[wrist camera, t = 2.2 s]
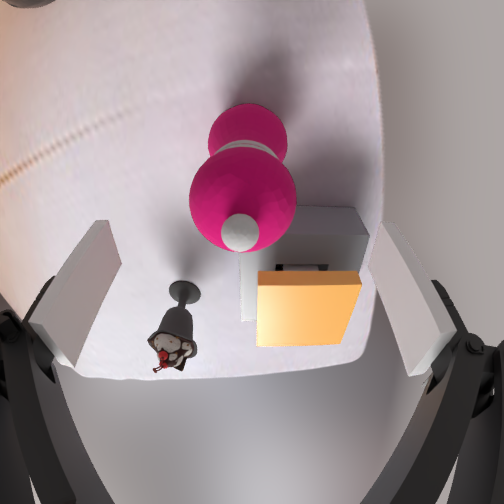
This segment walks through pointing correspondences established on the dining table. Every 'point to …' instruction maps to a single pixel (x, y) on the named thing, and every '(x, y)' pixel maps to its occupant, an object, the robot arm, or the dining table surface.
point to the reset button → (304, 305)
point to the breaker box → (306, 248)
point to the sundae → (176, 329)
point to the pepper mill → (244, 181)
